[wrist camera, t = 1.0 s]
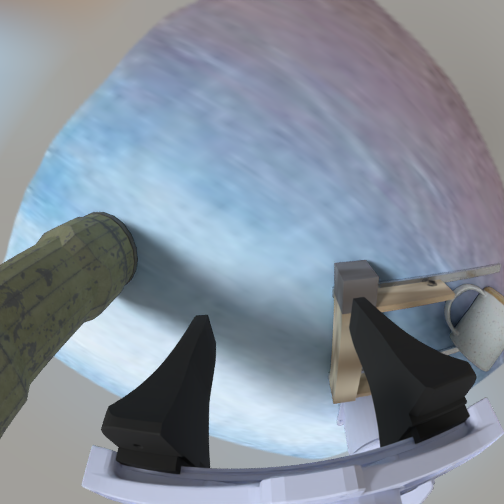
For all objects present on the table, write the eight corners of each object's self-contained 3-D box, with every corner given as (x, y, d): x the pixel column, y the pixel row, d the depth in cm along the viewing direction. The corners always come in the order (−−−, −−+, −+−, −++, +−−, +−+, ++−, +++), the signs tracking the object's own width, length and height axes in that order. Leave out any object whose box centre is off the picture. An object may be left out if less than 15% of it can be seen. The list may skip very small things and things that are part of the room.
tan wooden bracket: (418, 363, 28) (428, 383, 24) (329, 380, 29) (333, 403, 26) (443, 250, 23) (463, 265, 19) (334, 262, 24) (343, 280, 20)
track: (475, 343, 27) (476, 345, 27) (328, 377, 30) (328, 379, 29) (499, 263, 23) (500, 264, 23) (332, 287, 26) (333, 289, 25)
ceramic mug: (500, 295, 25) (532, 324, 17) (467, 343, 27) (492, 377, 20) (464, 264, 24) (503, 295, 17) (426, 322, 27) (454, 363, 19)
